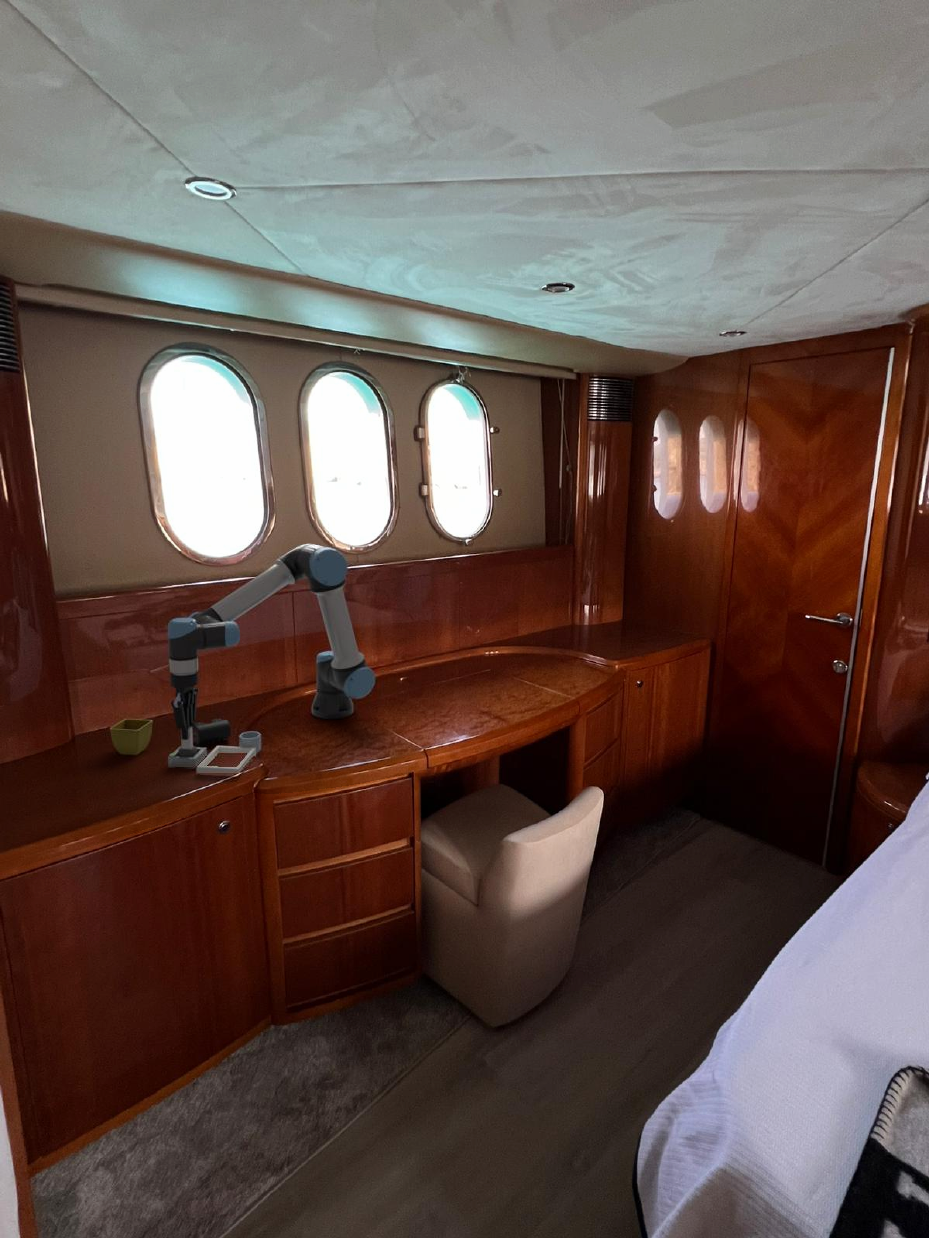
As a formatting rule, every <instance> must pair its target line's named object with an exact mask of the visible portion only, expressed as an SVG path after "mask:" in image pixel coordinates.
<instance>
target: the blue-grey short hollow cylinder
mask: <svg viewBox="0 0 929 1238" xmlns="http://www.w3.org/2000/svg"><path fill="white" fill-rule="evenodd" d="M238 741H239V742H238V743H239V745H238V747H253V748H256V754H257V753H259V752H260V751H261V750H262V734H261V733H260V732H258V731H253V730H252V731H245V732H242V733H241V734H239V736H238Z"/></svg>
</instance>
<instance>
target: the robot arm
mask: <svg viewBox="0 0 929 1238" xmlns="http://www.w3.org/2000/svg"><path fill="white" fill-rule="evenodd" d="M348 569H349V568H348V562H347V560H346V558H345V556H344V555H343V553H341V552H340V551H338V550H337V549H335V548H334V547H329V546H322V545H317V544H314V543H306V544H305V543H304V544H301V545H298V546H297V547H295V548H293V549H292V550H289V551H288V552H286V553H285V554H283V555H281V556H280V557H279V558H277V559H275V561H274V564H273V565H272V566H270V567H268V569H266V570H264V571H263V572H262V573H260V574H259V575H257V576H256V577H254V578H253V579H250V581H248V582H246V583H245V584H244V585H242V586H240V587H239V588H238V589H235V590H234V591H233V592H231V593H230V594H229V595H226V596H225V597H223V598H222V599H220V600H219V601H217V602H216V603H214V604H213V605H212V606H210V607H209V608H207V609H205V610H204V611H202V612H201V611H198V612H197V611H196V612H192V613H191V614H190V615H189V616H188V617H176V618H173V619H171V620H169V622H168V624H167V625H168V626H167V639H168V641H167V643H168V658H169V659H168V661H167V662H168V663H169V672H170V674H169V683H170V686H171V687H173V688H174V689H175V693H174V694H175V695H174V696H175V700H171V702H170V705H171V707H172V710H173V715H174V721H175V726H176V730H180V735H181V736H180V737H181V738H180V740H181V741H180V742H181V743H180V744H181V746H182V749H192V748H193V746H194V738H193V729H192V728H193V726H195V725H196V723H197V722H196V721H197V704H198V703H197V702H198V695H199V688H195V686H198V684H199V681H200V679H199V671H198V670H199V658H198V656H199V655H198V653H199V651H204V650H213V649H220V648H229V647H233V646H237V645H238V644H239V642H240V640H241V633H240V628H239V624H237V622H236V620H237V619H238V618H240V617H241V616H243V615H244V614H245V613H248V612H249V611H250V610H251V609H253V608H254V607H257V606H258V605H259V604H260V603H263V602H264V601H265V600H266V599H268V598H269V597H271V596H273V595H274V594H275V593H276V592H278V591H280V590H281V589H283V588H284V587H286V586H287V585H289V584H290V585H294V584H295V583H297V582H298V581H301V580H304V579H307V583H308V586H309V589H310V592H311V593H312V594H314V595H316V597H317V600H318V605H319V608H320V612H321V615H322V619H323V623H324V627H325V631H326V634H327V638H328V642H329V646H330V649H331V650H327V651H323V652H320V653H318V654H317V656H316V661H315V662H316V663H315V664H316V692H315V693H316V694H315V696H314V698H313V702H312V705H311V715H313V716H314V717H316V718H319V719H324V720H325V719H326V720H338V719H344V718H347V717H349V716H352V715H353V714H354V703H353V700H352V699H356V700H359V699H362V698H365V697H366V696H367V695H368V694H370V692H371V691H372V689H373V687H374V686H375V683H376V674H375V672H374V671H373V670H372V669H371V668H370V667H368V666H367V662H366V661H367V660H366V658H365V657H366V656H365V655H364V654H363V653H362V652H360V651H359V649H358V644H357V641H356V638H355V633H354V629H353V624H352V620H351V617H350V613H349V610H348V605H347V601H346V598H345V593H344V589H343V588H344V587H345V586H346V584H347V583H346V575H347V574H348ZM195 722H196V723H195Z"/></svg>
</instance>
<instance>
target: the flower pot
mask: <svg viewBox="0 0 929 1238" xmlns="http://www.w3.org/2000/svg"><path fill="white" fill-rule="evenodd" d="M152 730H153V720H152V719H140V718H139V719H137V718H124V719H123V720H121V721H119V722H117V723H116V724H114V725H113V726H111V727H110V728H109V731H110V736H111V737H110V738H111V740H112V744H113V746H114V748H115V749H116V751H117V752H118V753H119V754H120V755H129V756H137V755H139V754H140V753H142V752H143V751H144V750H146V749H147V747H148V746H149V743H150V742H151V741H150V740H151V737H152Z"/></svg>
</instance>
